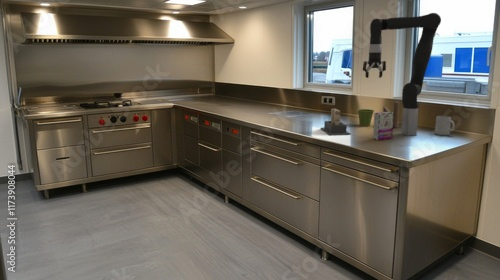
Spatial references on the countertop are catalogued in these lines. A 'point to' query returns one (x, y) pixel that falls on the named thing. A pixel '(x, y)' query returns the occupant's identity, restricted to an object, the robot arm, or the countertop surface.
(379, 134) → the candy bar box
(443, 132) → the mug
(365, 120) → the plant pot
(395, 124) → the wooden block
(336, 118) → the beige printed box
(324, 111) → the countertop surface
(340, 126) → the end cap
